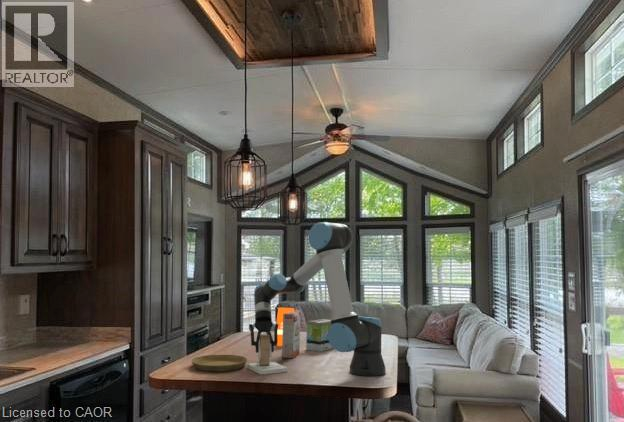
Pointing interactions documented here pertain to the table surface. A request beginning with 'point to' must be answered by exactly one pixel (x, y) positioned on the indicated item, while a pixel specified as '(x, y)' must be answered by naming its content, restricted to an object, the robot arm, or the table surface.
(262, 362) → the block
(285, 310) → the orange juice
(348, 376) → the table surface
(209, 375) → the table surface
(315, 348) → the tea box
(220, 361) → the plant saucer
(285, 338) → the cracker box
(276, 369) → the board
